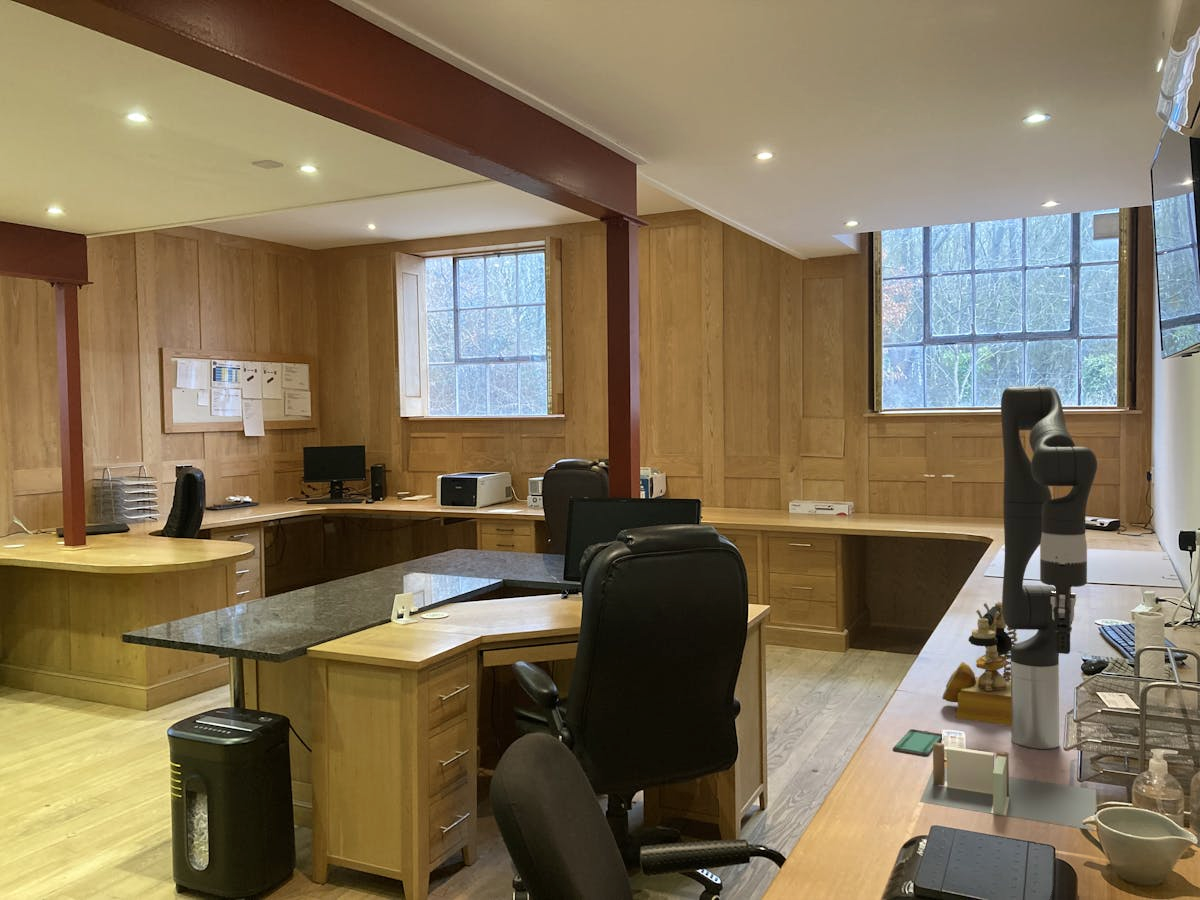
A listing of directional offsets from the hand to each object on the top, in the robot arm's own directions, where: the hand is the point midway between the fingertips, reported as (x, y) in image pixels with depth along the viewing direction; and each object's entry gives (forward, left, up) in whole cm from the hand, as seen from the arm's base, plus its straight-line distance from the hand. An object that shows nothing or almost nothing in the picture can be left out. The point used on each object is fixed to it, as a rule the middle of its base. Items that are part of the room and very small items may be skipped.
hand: (1063, 652), depth 165 cm
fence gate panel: (+11, -10, -25) cm, 29 cm away
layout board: (+5, -9, -26) cm, 28 cm away
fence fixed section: (+5, -15, -26) cm, 30 cm away
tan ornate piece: (-50, -17, -26) cm, 59 cm away
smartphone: (-17, -28, -27) cm, 42 cm away
